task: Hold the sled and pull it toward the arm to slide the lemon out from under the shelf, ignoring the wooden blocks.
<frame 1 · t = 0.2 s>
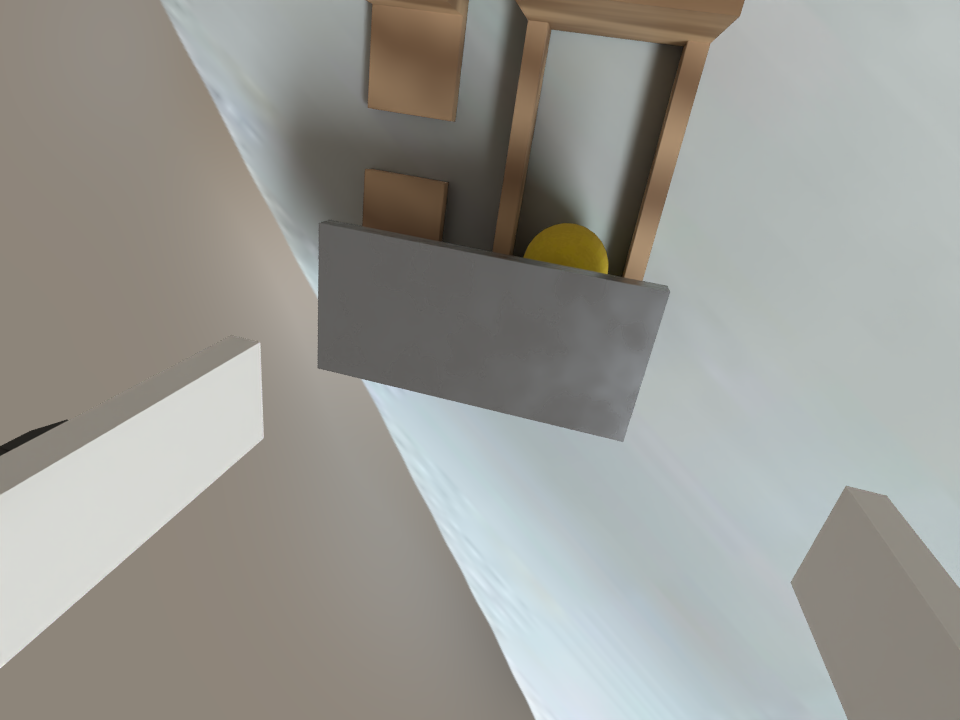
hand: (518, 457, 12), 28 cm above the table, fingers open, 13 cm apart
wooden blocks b: (412, 130, 36), on the table
shelf: (507, 284, 39), on the table
sled a: (583, 180, 30), point 5 cm above the table, slide at 0.0 cm
lemon: (568, 254, 37), resting in sled a
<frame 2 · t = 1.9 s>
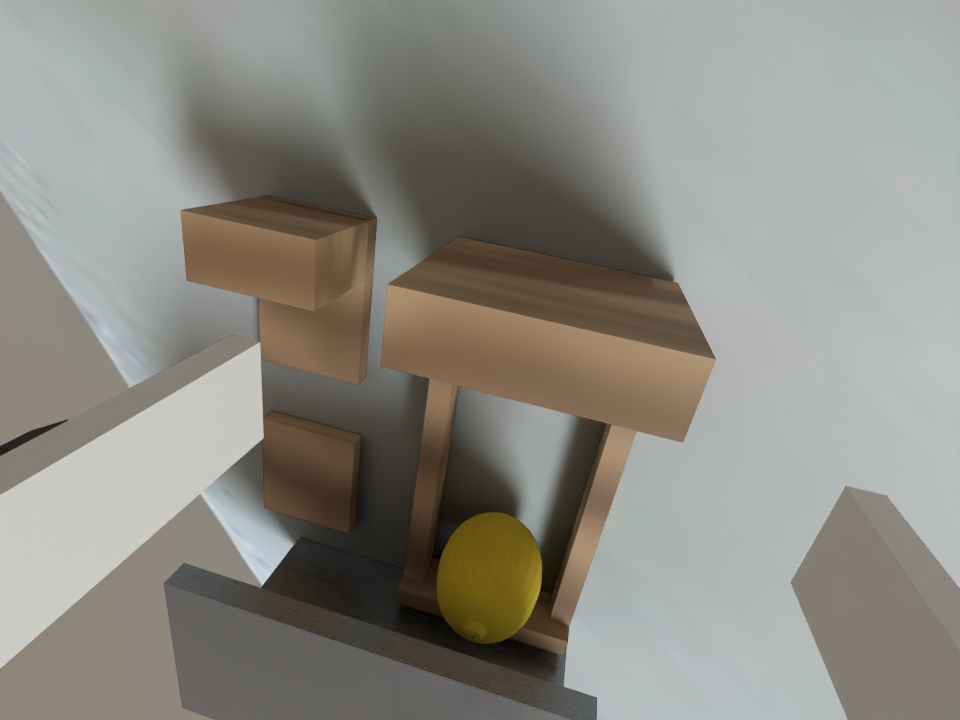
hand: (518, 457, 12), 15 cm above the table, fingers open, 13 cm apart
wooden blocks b: (317, 380, 30), on the table
shelf: (435, 540, 33), on the table
sled a: (506, 501, 25), point 5 cm above the table, slide at 0.0 cm
lemon: (504, 520, 31), resting in sled a
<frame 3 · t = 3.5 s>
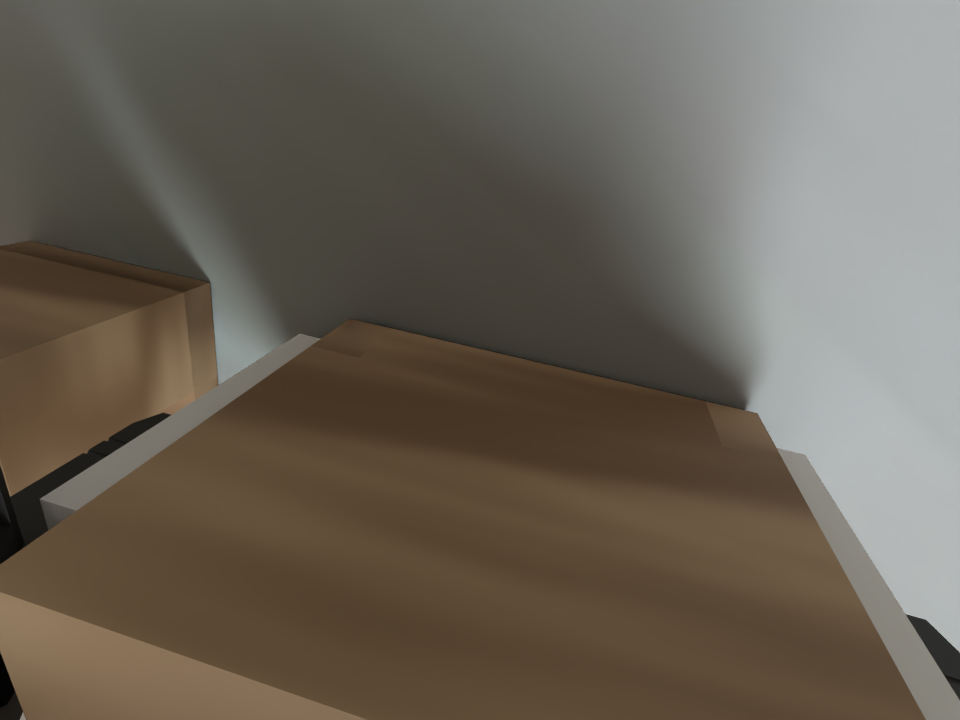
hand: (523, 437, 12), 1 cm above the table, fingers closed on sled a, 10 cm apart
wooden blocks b: (158, 523, 19), on the table
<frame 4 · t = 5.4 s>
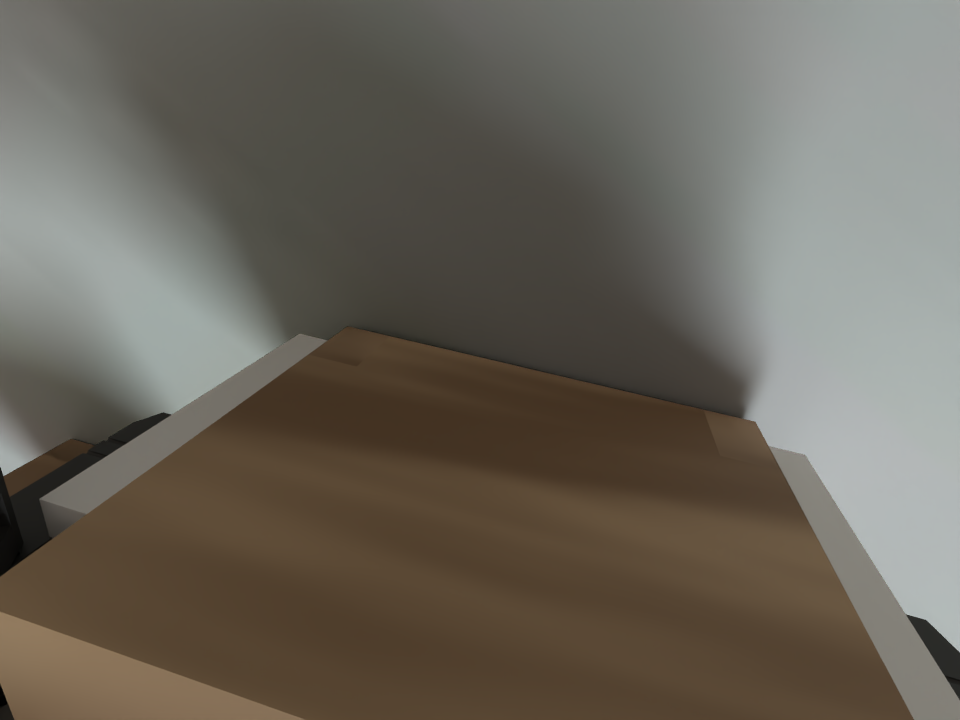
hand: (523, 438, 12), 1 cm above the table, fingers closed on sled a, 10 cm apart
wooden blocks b: (174, 650, 22), on the table
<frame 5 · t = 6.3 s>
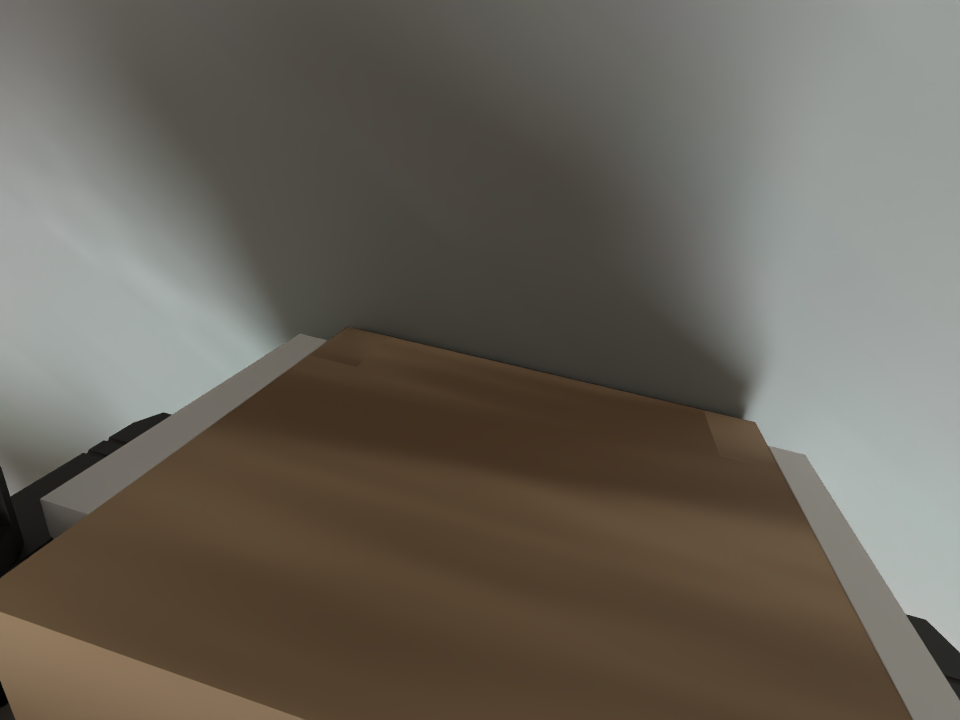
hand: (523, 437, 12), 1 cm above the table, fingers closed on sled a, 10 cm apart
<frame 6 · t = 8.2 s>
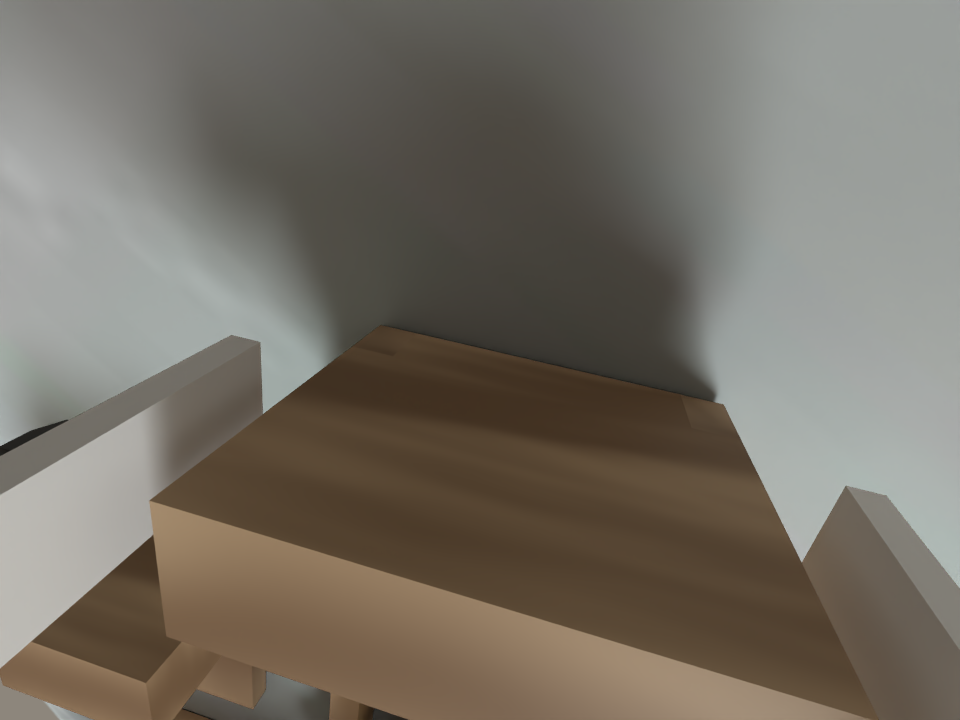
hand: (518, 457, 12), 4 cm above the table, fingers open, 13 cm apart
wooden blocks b: (211, 683, 25), on the table
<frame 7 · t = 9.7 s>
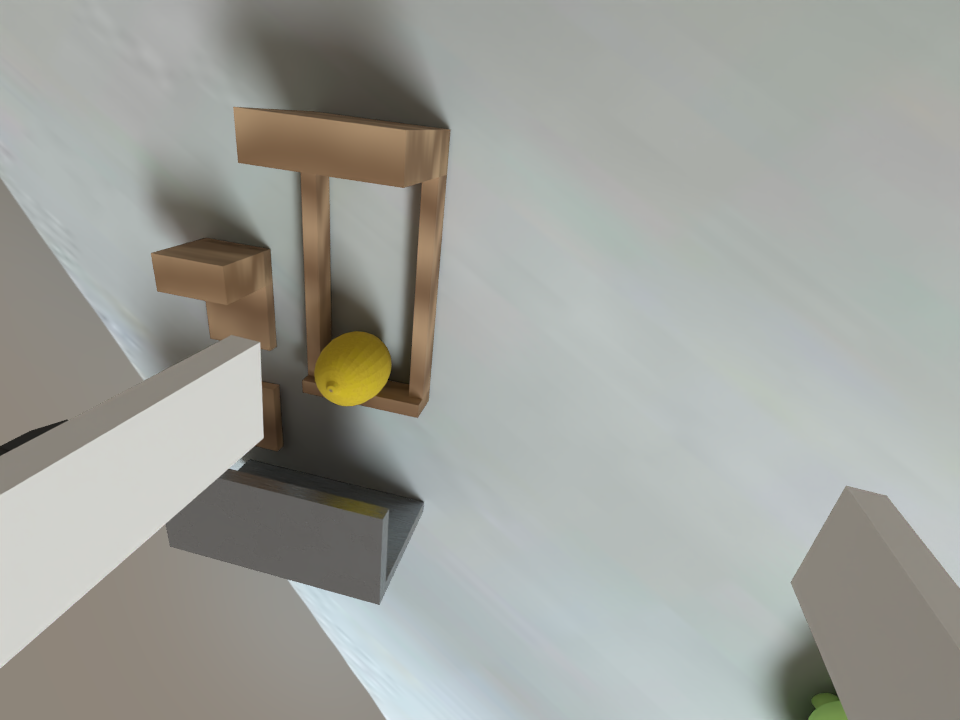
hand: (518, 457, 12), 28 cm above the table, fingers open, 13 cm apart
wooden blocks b: (247, 350, 47), on the table
shelf: (334, 453, 50), on the table
sled a: (352, 285, 37), point 5 cm above the table, slide at 10.9 cm, touching lemon
lemon: (375, 347, 45), resting in sled a
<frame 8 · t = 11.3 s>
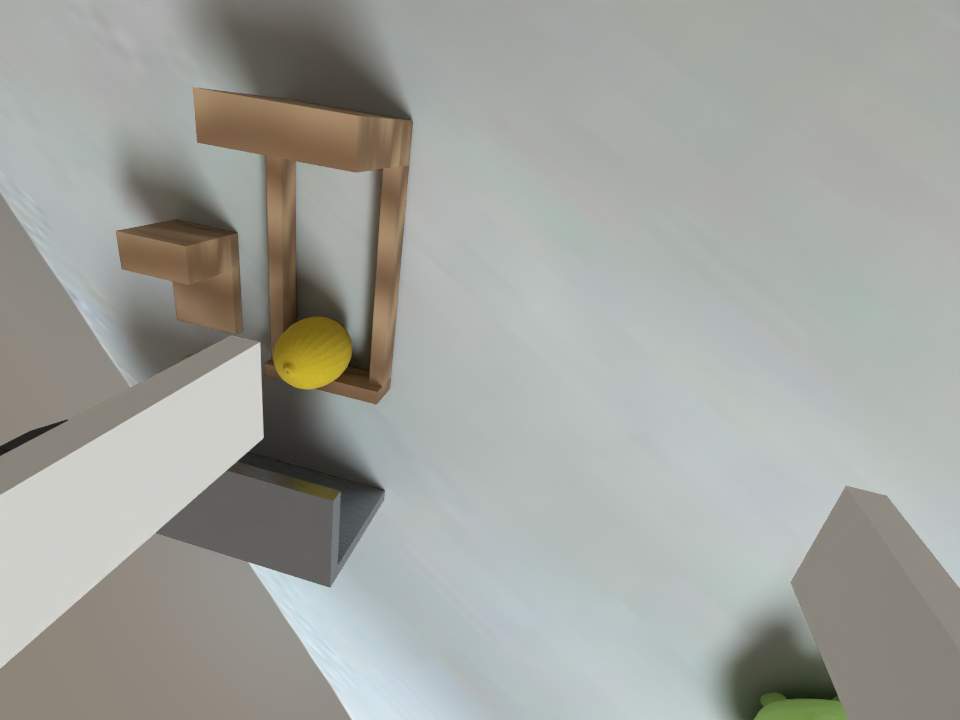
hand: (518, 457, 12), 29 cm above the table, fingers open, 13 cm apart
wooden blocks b: (214, 333, 48), on the table
shelf: (297, 439, 51), on the table
sled a: (312, 269, 38), point 5 cm above the table, slide at 10.9 cm, touching lemon
lemon: (338, 334, 45), resting in sled a
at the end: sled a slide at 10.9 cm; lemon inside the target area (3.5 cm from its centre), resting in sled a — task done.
